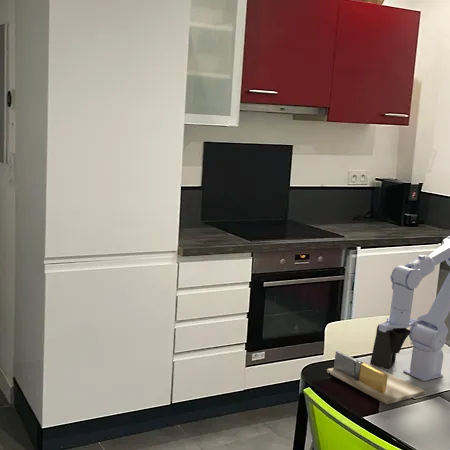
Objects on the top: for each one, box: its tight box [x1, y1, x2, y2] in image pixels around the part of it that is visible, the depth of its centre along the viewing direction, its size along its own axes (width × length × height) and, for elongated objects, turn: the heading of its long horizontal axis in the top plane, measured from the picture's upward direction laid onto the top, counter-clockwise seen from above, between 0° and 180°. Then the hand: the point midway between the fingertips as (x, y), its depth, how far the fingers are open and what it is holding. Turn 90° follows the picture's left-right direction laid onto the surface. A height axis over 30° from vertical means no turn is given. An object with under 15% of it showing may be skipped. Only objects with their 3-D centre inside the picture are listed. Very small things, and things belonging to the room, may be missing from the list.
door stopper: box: [369, 323, 397, 370], centre depth 205 cm, size 9×6×12 cm, turn 152°
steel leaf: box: [333, 350, 363, 381], centre depth 191 cm, size 2×10×5 cm, turn 35°
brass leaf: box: [359, 364, 388, 393], centre depth 183 cm, size 1×9×5 cm, turn 34°
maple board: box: [326, 360, 426, 405], centre depth 189 cm, size 16×24×1 cm
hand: (394, 352), depth 189 cm, fingers closed
